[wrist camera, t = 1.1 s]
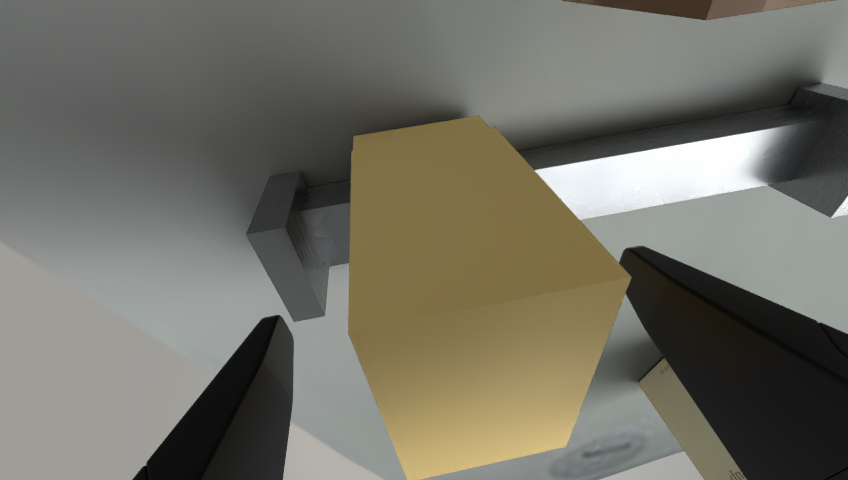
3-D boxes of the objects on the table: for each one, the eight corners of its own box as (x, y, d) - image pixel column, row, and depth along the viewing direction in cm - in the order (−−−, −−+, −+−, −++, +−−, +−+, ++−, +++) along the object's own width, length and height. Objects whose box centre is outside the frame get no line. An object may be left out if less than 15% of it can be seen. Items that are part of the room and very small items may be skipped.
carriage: (478, 109, 11) (631, 277, 5) (479, 252, 14) (565, 446, 9) (351, 129, 10) (348, 332, 5) (385, 270, 14) (408, 482, 8)
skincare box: (686, 331, 22) (937, 602, 13) (739, 330, 23) (1007, 579, 14) (634, 384, 26) (797, 625, 16) (682, 381, 27) (861, 606, 17)
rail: (823, 83, 12) (940, 111, 10) (771, 172, 15) (856, 212, 12) (269, 176, 11) (246, 234, 9) (304, 257, 14) (293, 321, 11)
